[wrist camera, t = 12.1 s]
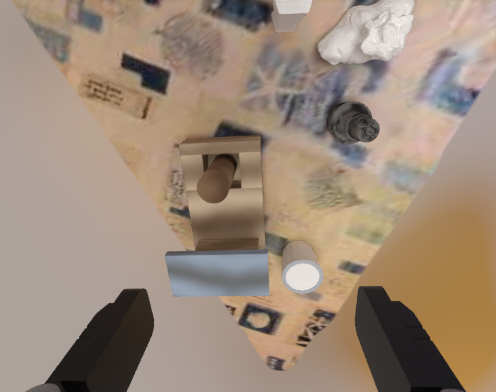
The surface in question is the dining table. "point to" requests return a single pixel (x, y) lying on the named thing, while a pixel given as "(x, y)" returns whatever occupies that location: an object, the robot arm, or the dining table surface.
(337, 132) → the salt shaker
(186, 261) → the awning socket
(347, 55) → the bust
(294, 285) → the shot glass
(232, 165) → the peg
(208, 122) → the dining table surface
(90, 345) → the robot arm
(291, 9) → the perfume bottle
